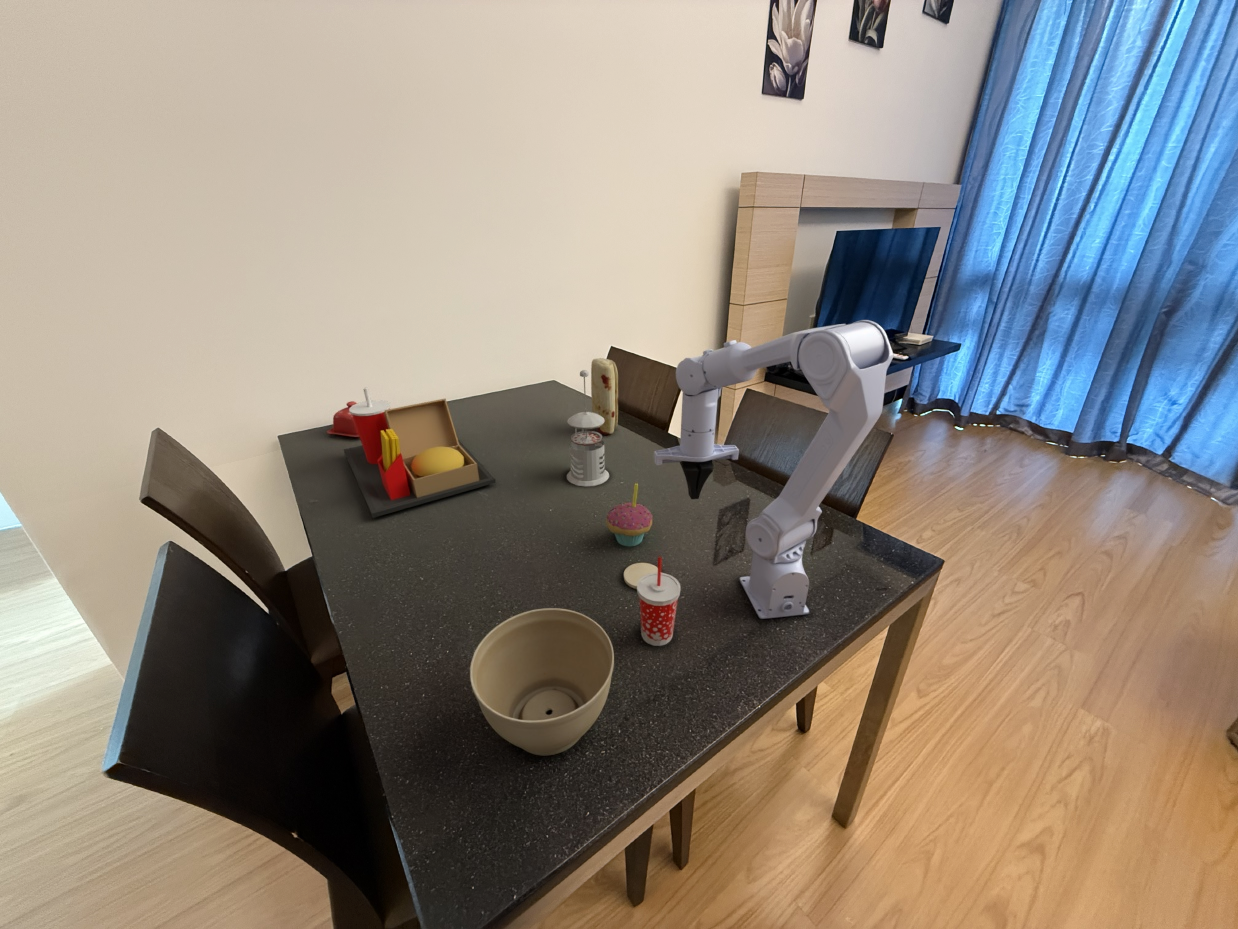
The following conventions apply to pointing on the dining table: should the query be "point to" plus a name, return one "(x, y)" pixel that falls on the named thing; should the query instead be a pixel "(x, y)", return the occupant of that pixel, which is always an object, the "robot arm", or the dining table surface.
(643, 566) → the coaster
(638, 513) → the cupcake
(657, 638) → the beverage cup
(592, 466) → the french press
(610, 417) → the food model
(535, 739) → the planter bowl
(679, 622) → the dining table surface
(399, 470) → the fast food meal
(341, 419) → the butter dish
